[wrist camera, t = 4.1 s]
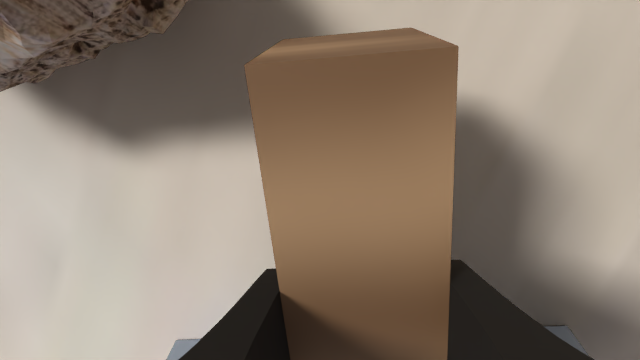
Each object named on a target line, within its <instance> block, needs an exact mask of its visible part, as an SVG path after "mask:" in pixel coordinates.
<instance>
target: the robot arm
mask: <svg viewBox="0 0 640 360" xmlns="http://www.w3.org/2000/svg"><path fill="white" fill-rule="evenodd" d="M178 360H290V354H289V348H288V342H287V335H286V329H285V322H284V316H283V310H282V303H281V297H280V291H279V284H278V278H277V271H276V269H266V270H265V271H264V272H263V274H262V275H261V276H260V277H259V278H258V279H257V280H256V281H255V282H254V284H253V285H252V286H251V287H250V288H249V289H248V290H247V292H246V293H245V294H244V295H243V296H242V297H241V298H240V300H239V301H238V302H237V303H236V304H235V305H234V306H233V307H232V308H231V309H230V310H229V311H228V313H227V314H226V315H225V316H224V317H223V318H222V319H221V320H220V321H219V322H218V323H217V324H216V325H215V326H214V327H213V328H212V329H211V330H210V331H209V332H208V333H207V334H206V335H205V336H204V337H203V338H202V339H201V340H200V341H199V342H198V343H197V344H196V345H194V346H193V347H192V348H191V349H190V350H189V351H188V352H187V353H185V354H184V355H183V356H182V357H181V358H180V359H178ZM447 360H594V359H592V358H591V357H589V356H587V355H586V354H584V353H583V352H581V351H579V350H578V349H576V348H574V347H573V346H571V345H570V344H568V343H567V342H565V341H564V340H562V339H561V338H559V337H558V336H556V335H555V334H553V333H552V332H550V331H549V330H548V329H546V328H545V327H543V326H542V325H541V324H539V323H538V322H536V321H535V320H533V319H532V318H531V317H529V316H528V315H527V314H525V313H524V312H523V311H521V310H520V309H519V308H518V307H516V306H515V305H514V304H512V303H511V302H510V301H509V300H507V299H506V298H505V297H504V296H502V295H501V294H500V293H499V292H498V291H496V290H495V289H494V288H493V287H492V286H490V285H489V284H488V283H487V282H486V281H485V280H483V279H482V278H481V277H480V276H479V275H478V274H476V273H475V272H474V271H473V270H472V269H471V268H469V267H468V266H467V265H466V264H465V263H464V262H462V261H461V260H451V268H450V296H449V324H448V351H447Z"/></svg>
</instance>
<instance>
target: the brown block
mask: <svg viewBox="0 0 640 360" xmlns="http://www.w3.org/2000/svg"><path fill="white" fill-rule="evenodd" d="M244 68H245V74H246V80H247V87H248V93H249V100H250V106H251V112H252V119H253V125H254V131H255V138H256V144H257V150H258V157H259V163H260V170H261V176H262V182H263V189H264V195H265V201H266V208H267V214H268V221H269V227H270V233H271V240H272V246H273V252H274V259H275V265H276V271H277V278H278V284H279V291H280V297H281V303H282V310H283V316H284V322H285V329H286V335H287V342H288V348H289V354H290V360H447V351H448V324H449V296H450V268H451V240H452V212H453V184H454V156H455V129H456V101H457V73H458V46H457V45H454V44H452V43H449V42H446V41H444V40H441V39H439V38H436V37H434V36H431V35H429V34H426V33H424V32H421V31H418V30H416V29H413V28H402V29H391V30H381V31H370V32H359V33H348V34H337V35H326V36H316V37H305V38H294V39H283V40H282V41H280V42H278V43H277V44H275V45H274V46H272V47H271V48H269V49H268V50H266V51H265V52H263V53H262V54H260V55H259V56H257V57H256V58H254V59H253V60H251V61H250V62H248V63H247V64H245V65H244Z"/></svg>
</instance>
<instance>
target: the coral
mask: <svg viewBox="0 0 640 360" xmlns="http://www.w3.org/2000/svg"><path fill="white" fill-rule="evenodd" d="M187 1H188V0H0V92H1V91H3V90H6V89H9V88H11V87H15V86H16V85H19V84H21V83H24V82H28V83H35V84H36V83H38V82H41V81H43V80H45V79H47V78H49V77H50V76H51V74H52V73H53V72H54V71H55V70H56V69H57V68H61V67H65V66H70V65H75V64H78V63H81V62H83V61H86V60H88V59H95V57H96V56H97V54H98V53H99V52H100V50H102V49H105V48H107V47H108V46H109V45H110V44H112V43H113V42H115V43H123V42H130V41H133V40H136V39H139V38H142V37H145V36H147V35H148V34H149V33H150V32H152V33H160V34H163V33H164V32H165V31H166V29H167V28H168V27H169V26H170V25H171V23H172V22H173V21H174V20H175V19H176V18H177V16H178V14H179V13H180V11H181V9H182V8H183V6H184V4H185V3H186V2H187Z"/></svg>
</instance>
